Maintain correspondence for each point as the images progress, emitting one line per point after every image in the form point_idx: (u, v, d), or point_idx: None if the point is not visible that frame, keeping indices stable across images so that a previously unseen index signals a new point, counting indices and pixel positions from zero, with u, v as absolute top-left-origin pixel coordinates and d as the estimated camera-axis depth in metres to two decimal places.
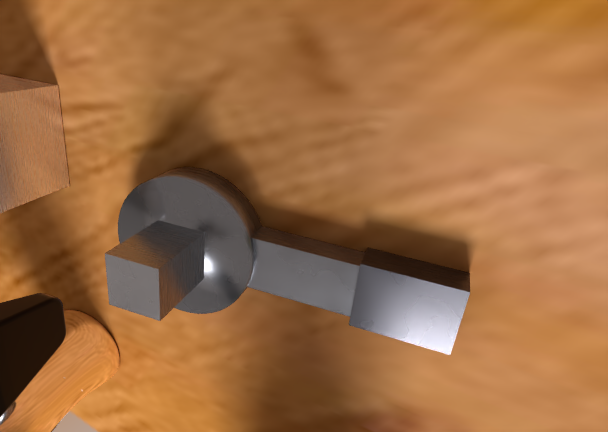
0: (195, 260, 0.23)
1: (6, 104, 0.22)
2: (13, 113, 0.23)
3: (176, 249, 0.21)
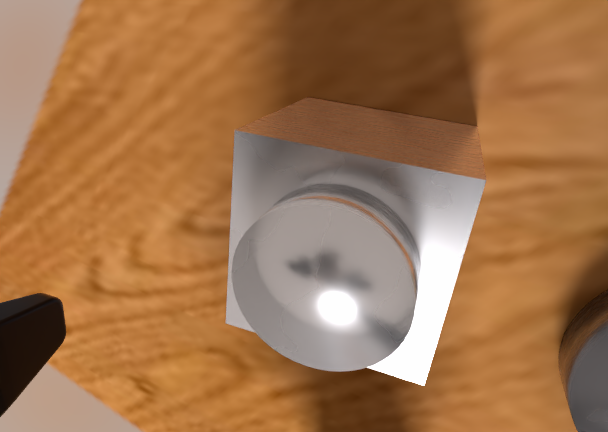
0: None
1: None
2: None
3: None
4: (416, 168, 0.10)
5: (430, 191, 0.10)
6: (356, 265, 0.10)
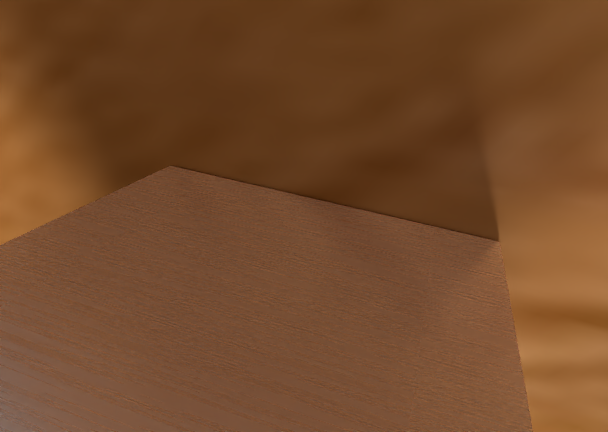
0: None
1: None
2: None
3: None
4: None
5: None
6: None
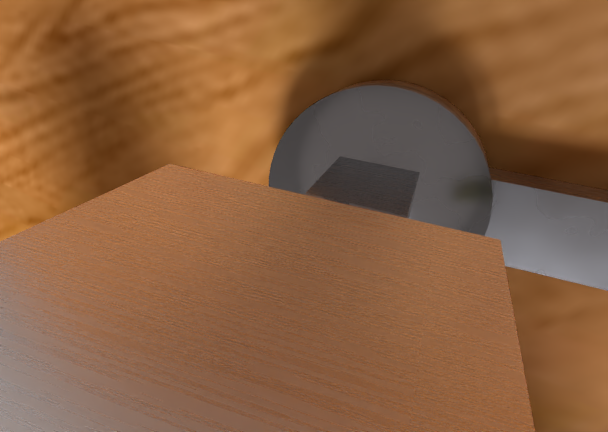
0: (409, 213, 0.15)
1: None
2: None
3: (403, 190, 0.13)
4: None
5: None
6: None
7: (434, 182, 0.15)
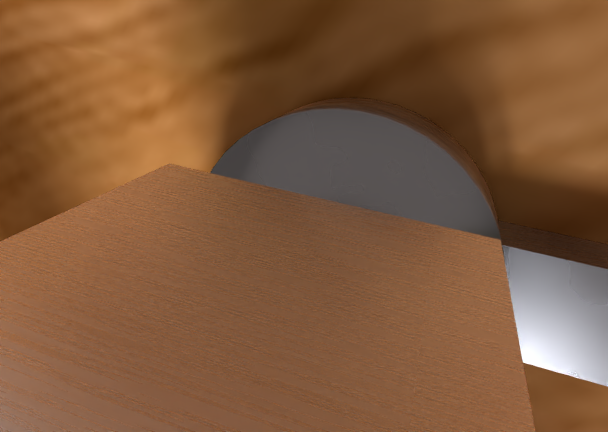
0: None
1: None
2: None
3: None
4: None
5: None
6: None
7: None
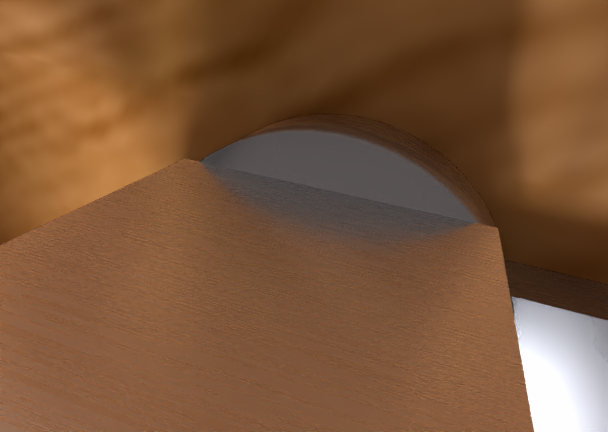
0: None
1: None
2: None
3: None
4: None
5: None
6: None
7: None
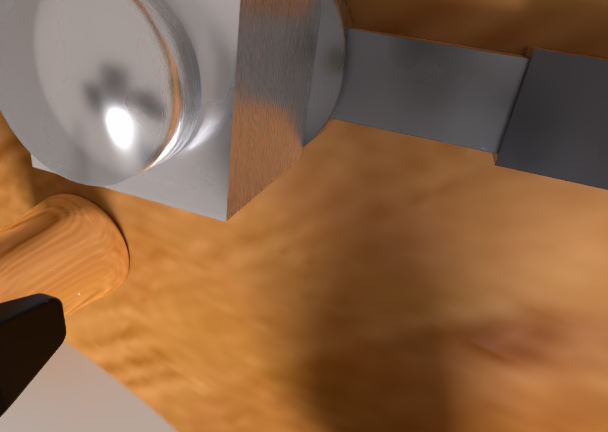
0: None
1: None
2: (290, 9, 0.12)
3: None
4: None
5: None
6: (96, 40, 0.09)
7: None
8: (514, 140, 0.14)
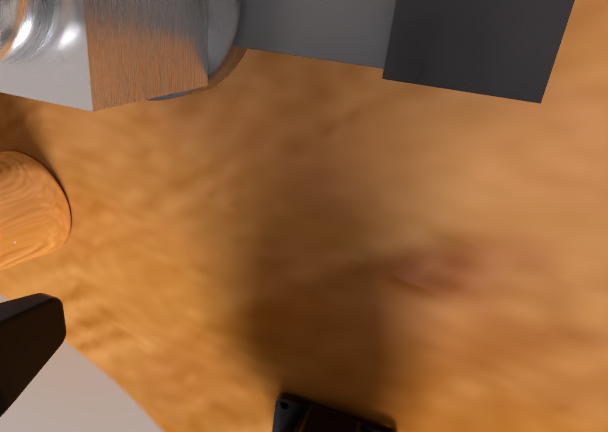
0: None
1: None
2: None
3: None
4: None
5: None
6: None
7: None
8: (396, 51, 0.15)
